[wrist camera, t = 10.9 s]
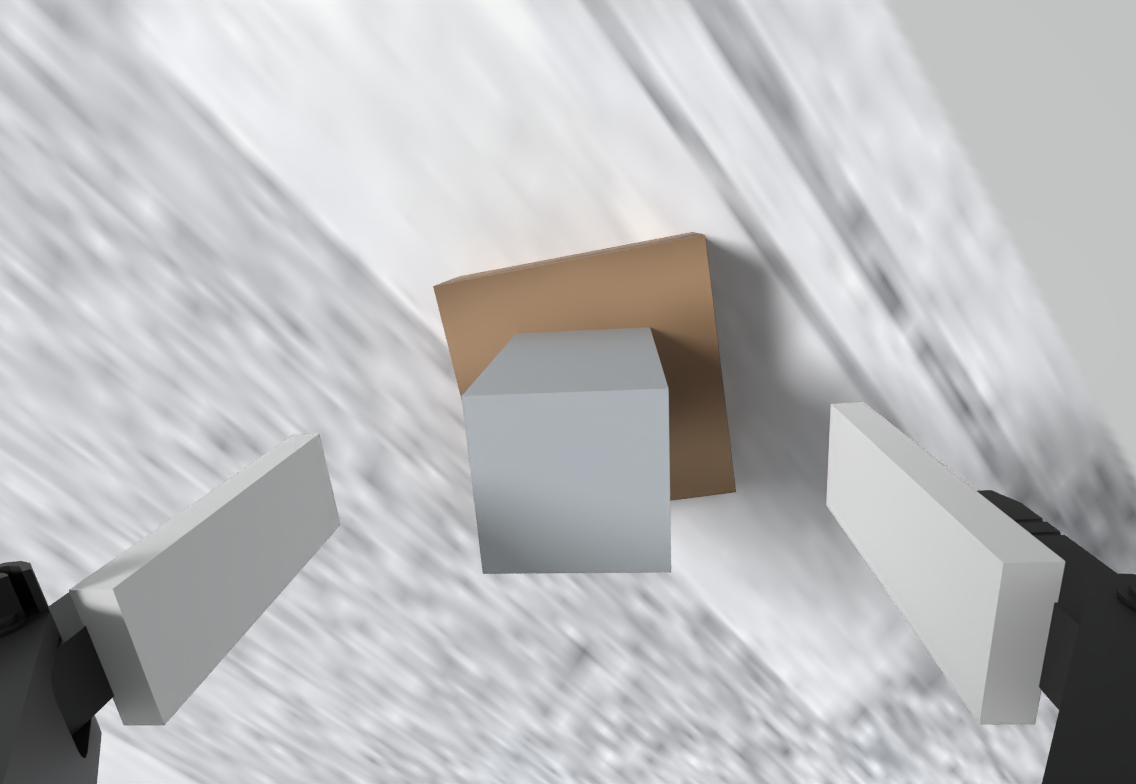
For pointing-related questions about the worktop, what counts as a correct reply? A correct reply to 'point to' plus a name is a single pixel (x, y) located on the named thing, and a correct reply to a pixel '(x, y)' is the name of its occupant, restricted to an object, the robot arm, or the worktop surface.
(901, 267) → the worktop surface
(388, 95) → the worktop surface
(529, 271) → the walnut block
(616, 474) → the slate block
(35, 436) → the worktop surface
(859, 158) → the worktop surface
